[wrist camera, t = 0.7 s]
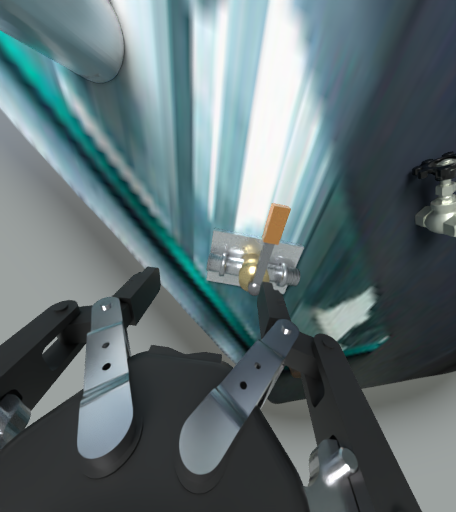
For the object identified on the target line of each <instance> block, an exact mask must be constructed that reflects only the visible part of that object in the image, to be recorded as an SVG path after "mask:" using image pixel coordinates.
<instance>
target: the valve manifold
mask: <svg viewBox="0 0 456 512" xmlns="http://www.w3.org/2000/svg"><path fill="white" fill-rule="evenodd" d="M263 243H264V242H263V240H262V237H260V236H255V235H249V234H244V233H239V232H233V231H228V230H223V229H217V228H214V232H213V239H212V246H211V253H210V254H209V258H208V263H207V271H208V273H207V280H208V281H214V282H220V283H225V284H231V285H237V286H241V288H242V289H244V290H245V291H248V282H249V281H251V280H252V279H253V276H254V273H255V269H256V266H257V263H258V259H259V256H260V253H261V250H262V246H263ZM303 249H304V247H303V245H302V244H297V243H292V242H287V241H281V240H280V242H279V244H278V245H276V244H275V245H274V248H273V251H272V254H271V257H270V260H269V263H268V266H267V269H266V271H265V274H264V277H263V280H262V281H263V282H270V283H272V284H273V288H274V290H279V292H280V293H282V294H284V293H285V290H286V288H287V286H288V285H291V286H297V284H298V283H299V280H300V271H299V269H296V268H295V267H296V265H297V263H298V260H299V258H300V256H301V253H302V251H303Z"/></svg>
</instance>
